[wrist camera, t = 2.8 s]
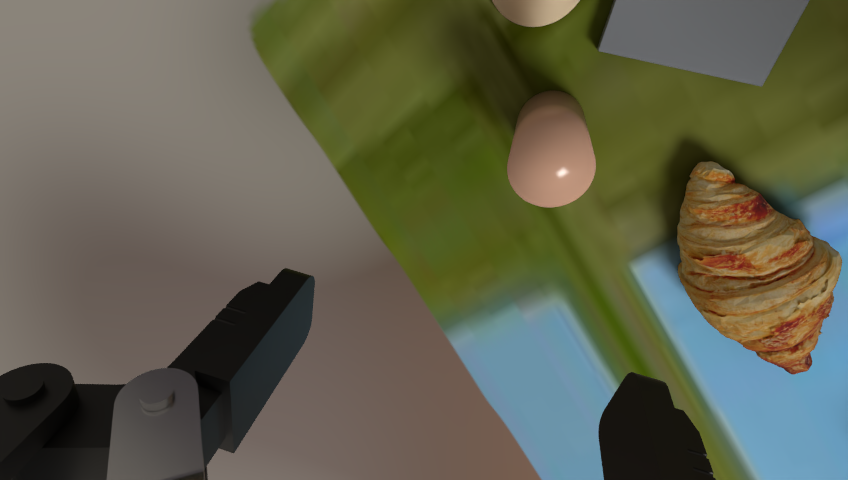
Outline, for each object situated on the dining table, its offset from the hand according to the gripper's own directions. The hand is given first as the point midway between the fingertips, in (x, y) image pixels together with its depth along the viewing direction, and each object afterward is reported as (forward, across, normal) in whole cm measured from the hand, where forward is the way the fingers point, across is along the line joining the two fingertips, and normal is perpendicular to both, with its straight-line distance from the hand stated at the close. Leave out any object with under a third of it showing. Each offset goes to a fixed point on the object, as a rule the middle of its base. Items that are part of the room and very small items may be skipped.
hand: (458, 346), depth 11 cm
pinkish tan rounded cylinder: (+29, -4, +2) cm, 29 cm away
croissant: (+29, -22, +8) cm, 37 cm away
